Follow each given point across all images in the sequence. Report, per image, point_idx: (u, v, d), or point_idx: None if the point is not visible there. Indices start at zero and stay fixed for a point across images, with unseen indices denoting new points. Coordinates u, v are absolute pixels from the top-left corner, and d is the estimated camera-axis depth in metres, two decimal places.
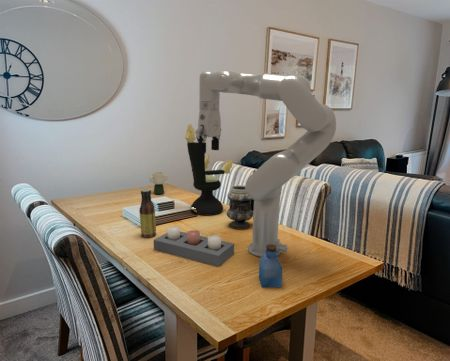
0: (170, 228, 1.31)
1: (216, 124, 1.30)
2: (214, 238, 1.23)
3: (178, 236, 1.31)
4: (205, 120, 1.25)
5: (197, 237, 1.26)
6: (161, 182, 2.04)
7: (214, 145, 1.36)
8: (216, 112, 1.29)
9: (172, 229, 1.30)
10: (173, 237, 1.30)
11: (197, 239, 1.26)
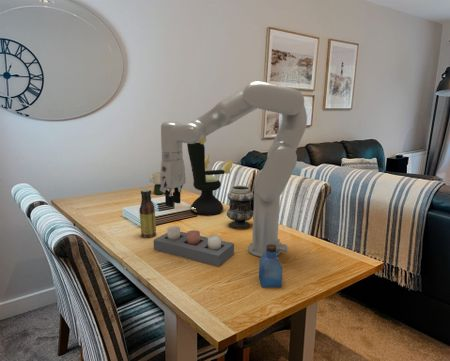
0: (170, 228, 1.31)
1: (179, 174, 1.26)
2: (214, 238, 1.23)
3: (178, 236, 1.31)
4: (167, 172, 1.21)
5: (197, 237, 1.26)
6: None
7: (175, 198, 1.30)
8: (180, 162, 1.25)
9: (172, 229, 1.30)
10: (173, 237, 1.30)
11: (197, 239, 1.26)
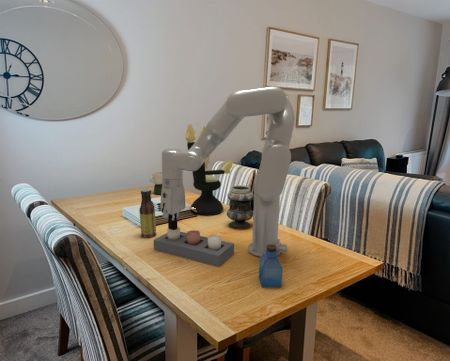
0: (170, 229, 1.31)
1: (179, 200, 1.28)
2: (214, 238, 1.23)
3: (178, 237, 1.31)
4: (167, 198, 1.23)
5: (197, 237, 1.26)
6: (161, 182, 2.04)
7: None
8: (180, 188, 1.27)
9: None
10: (173, 238, 1.30)
11: (197, 239, 1.26)
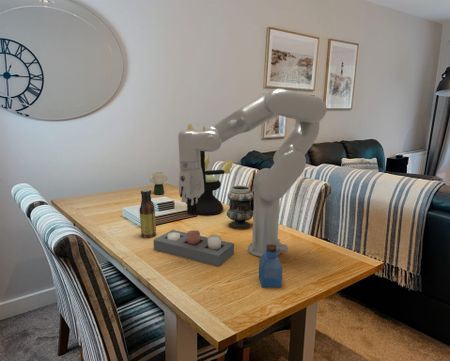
0: (170, 234, 1.32)
1: (198, 183, 1.23)
2: (214, 238, 1.23)
3: None
4: (185, 182, 1.18)
5: (197, 237, 1.26)
6: (161, 182, 2.04)
7: None
8: (198, 171, 1.22)
9: (173, 235, 1.31)
10: None
11: (197, 239, 1.26)
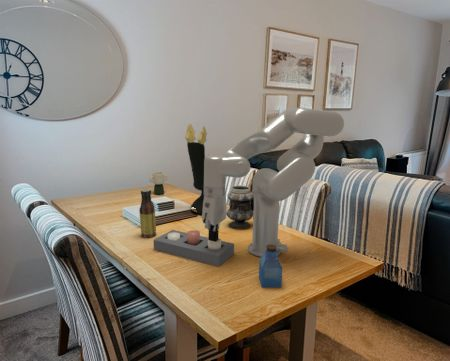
0: (170, 234, 1.32)
1: (222, 209, 1.20)
2: None
3: None
4: (210, 208, 1.15)
5: (197, 237, 1.26)
6: (161, 182, 2.04)
7: None
8: (222, 196, 1.19)
9: (173, 235, 1.31)
10: None
11: (197, 239, 1.26)
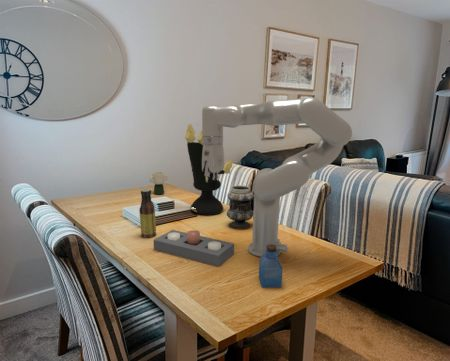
0: (170, 234, 1.32)
1: (220, 159, 1.25)
2: (214, 244, 1.23)
3: None
4: (209, 156, 1.21)
5: (197, 237, 1.26)
6: (161, 182, 2.04)
7: None
8: (220, 146, 1.25)
9: (173, 235, 1.31)
10: None
11: (197, 239, 1.26)
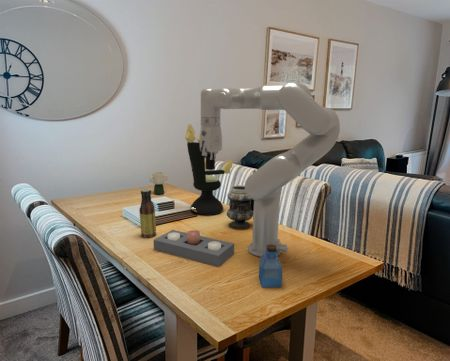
0: (170, 234, 1.32)
1: (217, 139, 1.32)
2: (214, 244, 1.23)
3: None
4: (207, 136, 1.27)
5: (197, 237, 1.26)
6: (161, 182, 2.04)
7: None
8: (218, 127, 1.31)
9: (173, 235, 1.31)
10: None
11: (197, 239, 1.26)
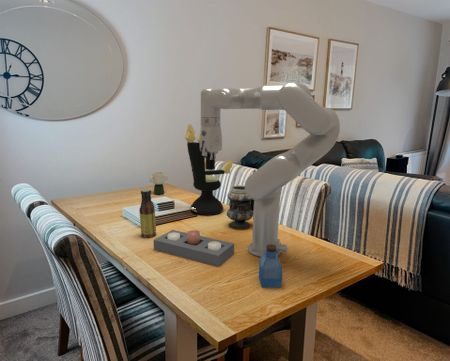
0: (170, 234, 1.32)
1: (217, 139, 1.32)
2: (214, 244, 1.23)
3: None
4: (207, 136, 1.27)
5: (197, 237, 1.26)
6: (161, 182, 2.04)
7: None
8: (218, 127, 1.31)
9: (173, 235, 1.31)
10: None
11: (197, 239, 1.26)
